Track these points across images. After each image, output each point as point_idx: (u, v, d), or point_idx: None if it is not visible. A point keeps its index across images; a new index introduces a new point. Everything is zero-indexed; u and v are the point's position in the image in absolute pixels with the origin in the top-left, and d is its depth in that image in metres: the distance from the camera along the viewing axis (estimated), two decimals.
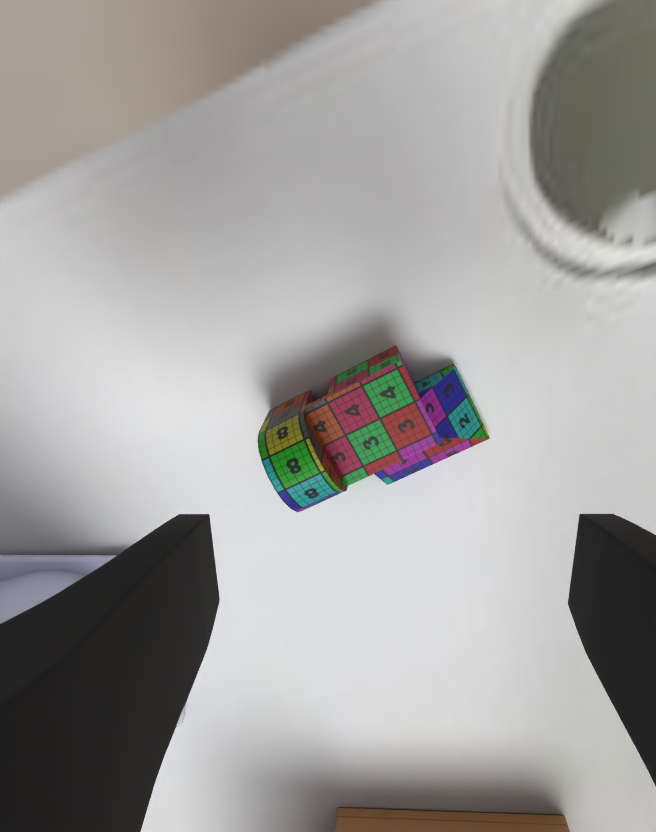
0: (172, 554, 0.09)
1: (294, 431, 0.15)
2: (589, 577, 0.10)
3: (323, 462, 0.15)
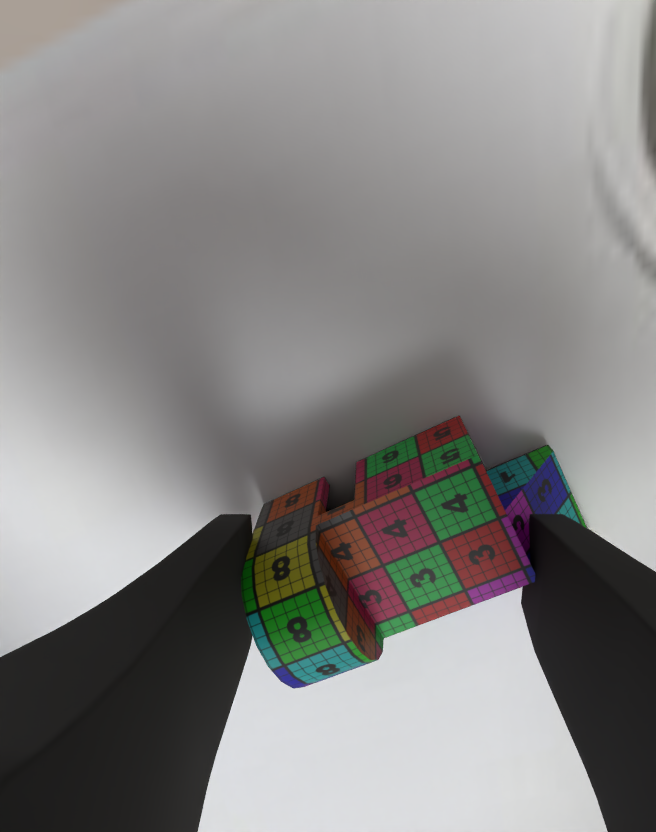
0: (222, 555, 0.09)
1: (301, 569, 0.09)
2: (537, 576, 0.10)
3: (348, 622, 0.09)
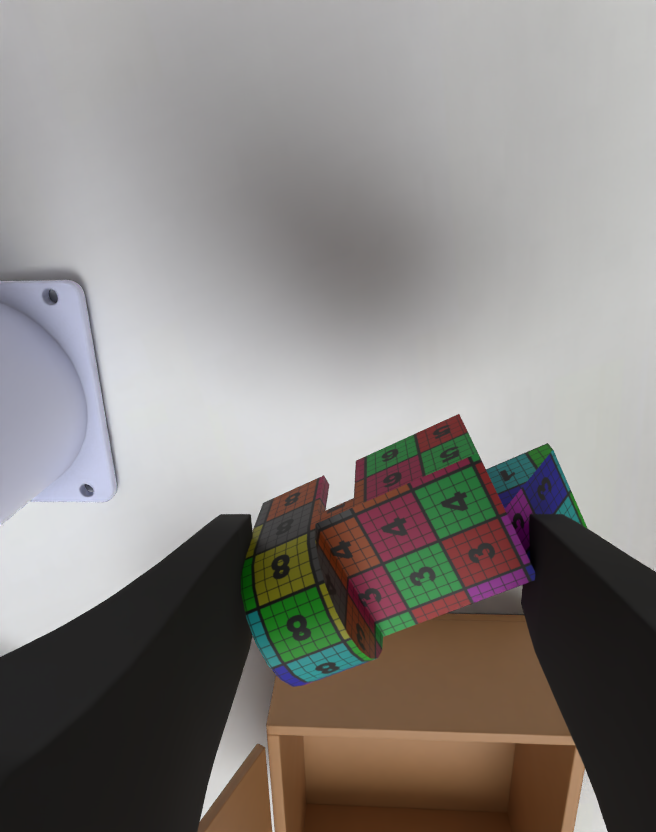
0: (222, 555, 0.09)
1: (301, 566, 0.09)
2: (537, 576, 0.10)
3: (348, 620, 0.09)
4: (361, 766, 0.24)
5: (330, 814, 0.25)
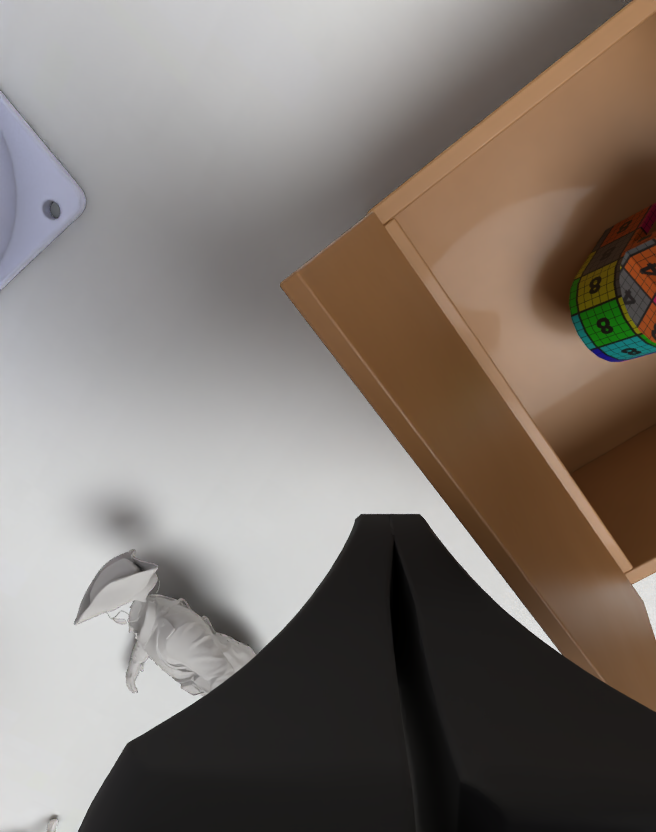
0: (393, 555, 0.09)
1: (607, 285, 0.13)
2: None
3: (643, 321, 0.13)
4: (596, 374, 0.17)
5: (600, 464, 0.17)
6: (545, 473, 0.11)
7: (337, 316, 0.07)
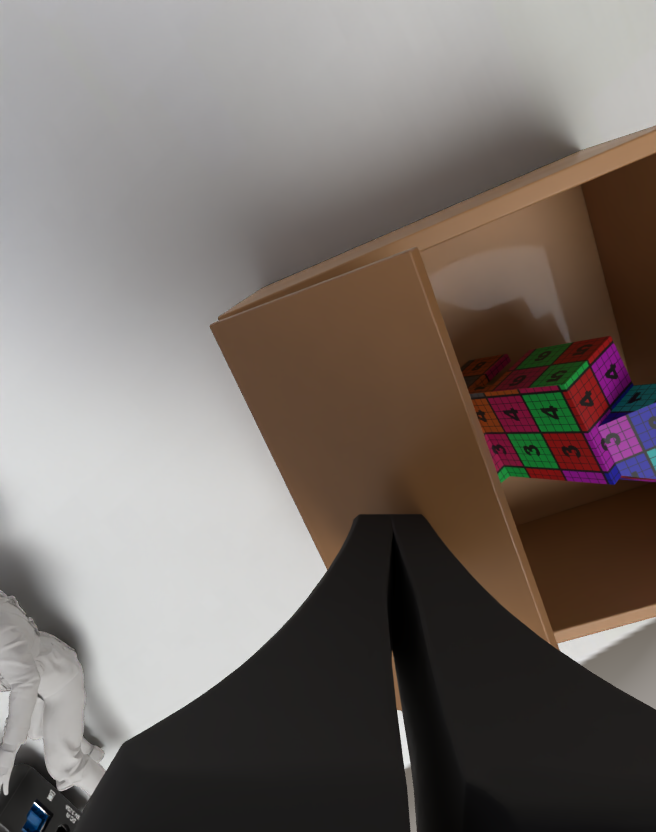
0: (391, 555, 0.09)
1: None
2: None
3: None
4: None
5: None
6: None
7: None
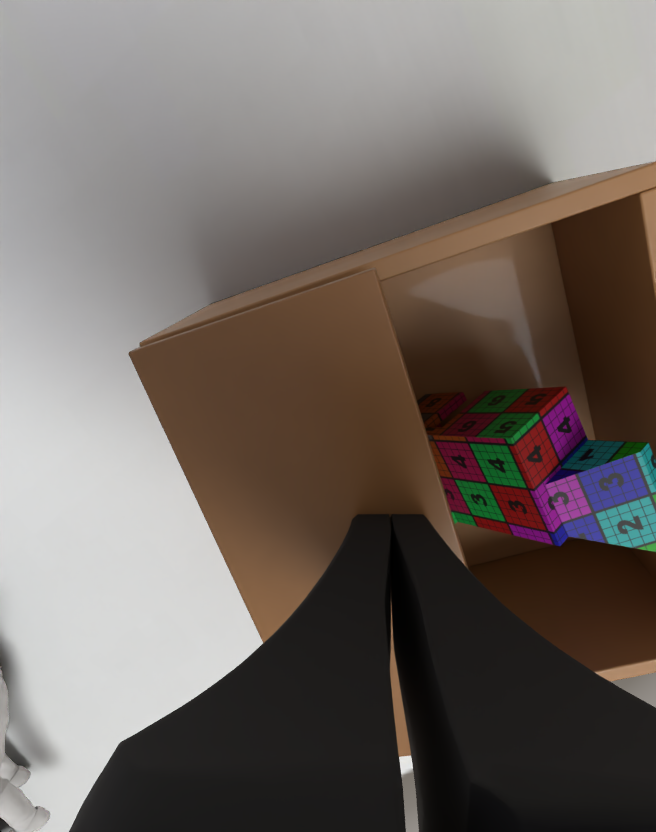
0: (389, 555, 0.09)
1: None
2: (393, 575, 0.10)
3: None
4: None
5: None
6: None
7: None
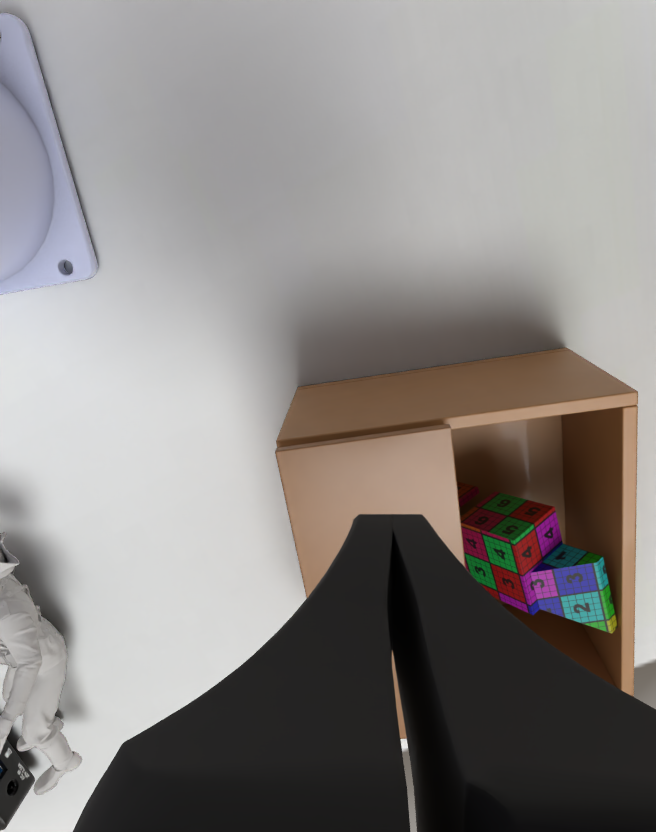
0: (391, 555, 0.09)
1: None
2: None
3: None
4: None
5: None
6: None
7: None
